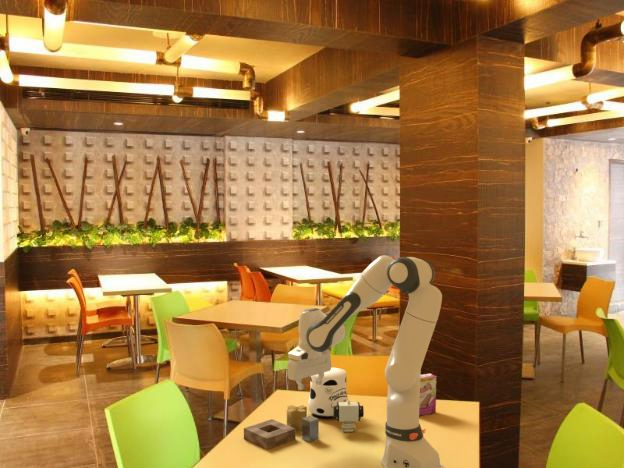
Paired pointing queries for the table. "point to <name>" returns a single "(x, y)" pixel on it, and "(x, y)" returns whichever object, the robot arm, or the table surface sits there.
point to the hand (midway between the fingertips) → (310, 386)
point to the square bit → (310, 429)
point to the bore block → (269, 433)
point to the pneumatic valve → (348, 414)
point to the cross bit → (296, 416)
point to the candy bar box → (427, 394)
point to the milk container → (327, 392)
